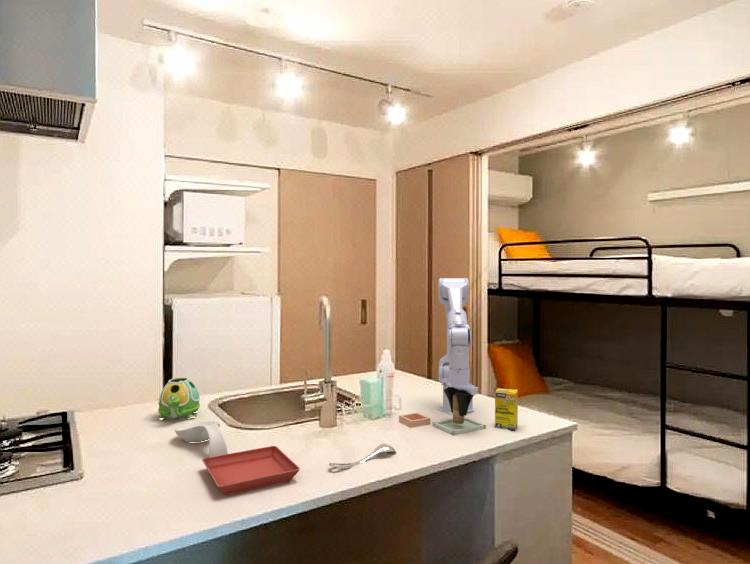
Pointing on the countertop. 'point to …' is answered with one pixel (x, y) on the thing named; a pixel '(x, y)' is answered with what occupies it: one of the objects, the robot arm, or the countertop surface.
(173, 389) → the turtle holder
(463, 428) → the tray
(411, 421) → the tray
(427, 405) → the countertop surface
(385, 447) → the silver spork
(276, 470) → the plant saucer
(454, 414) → the dowel
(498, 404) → the supplement box
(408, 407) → the countertop surface
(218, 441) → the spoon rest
